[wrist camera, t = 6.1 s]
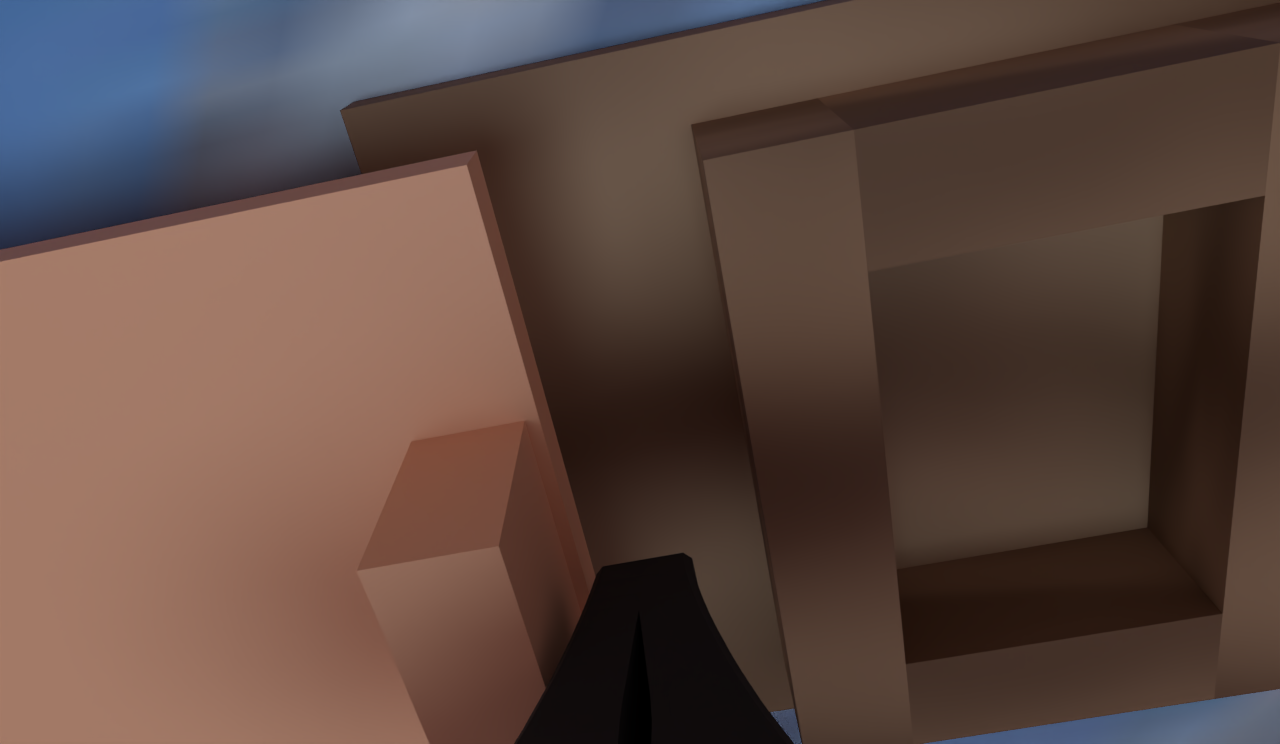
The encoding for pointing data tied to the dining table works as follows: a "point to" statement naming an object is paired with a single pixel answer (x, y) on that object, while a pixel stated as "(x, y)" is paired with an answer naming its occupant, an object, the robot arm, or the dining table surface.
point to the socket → (913, 340)
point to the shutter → (281, 476)
